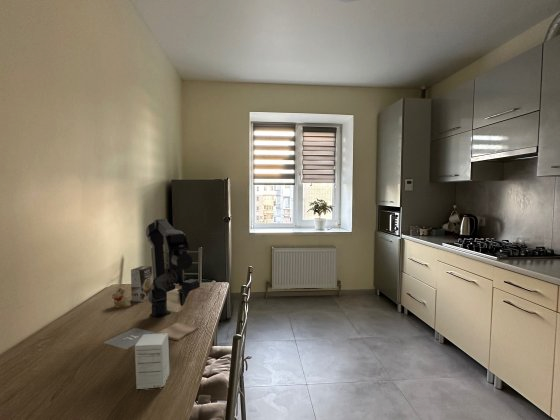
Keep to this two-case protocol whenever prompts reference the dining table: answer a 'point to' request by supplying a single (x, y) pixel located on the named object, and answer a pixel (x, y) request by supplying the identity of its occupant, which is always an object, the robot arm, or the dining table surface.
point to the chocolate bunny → (120, 299)
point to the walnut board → (178, 331)
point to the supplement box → (152, 360)
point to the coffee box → (141, 283)
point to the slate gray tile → (128, 338)
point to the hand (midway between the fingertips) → (176, 304)
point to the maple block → (174, 301)
